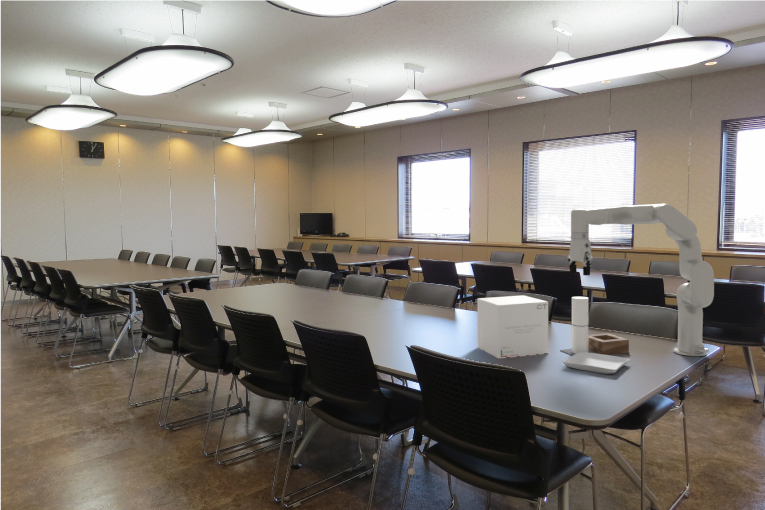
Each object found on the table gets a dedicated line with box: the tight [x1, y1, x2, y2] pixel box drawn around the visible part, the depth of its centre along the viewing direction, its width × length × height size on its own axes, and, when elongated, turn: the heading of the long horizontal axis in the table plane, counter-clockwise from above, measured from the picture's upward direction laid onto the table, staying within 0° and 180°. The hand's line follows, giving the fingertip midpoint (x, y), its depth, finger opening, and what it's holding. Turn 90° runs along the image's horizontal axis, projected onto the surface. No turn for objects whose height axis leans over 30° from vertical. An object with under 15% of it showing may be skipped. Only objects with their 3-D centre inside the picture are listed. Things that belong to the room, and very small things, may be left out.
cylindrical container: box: [571, 296, 589, 353], centre depth 238 cm, size 7×7×25 cm
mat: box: [559, 348, 598, 357], centre depth 239 cm, size 12×12×1 cm
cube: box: [476, 294, 549, 359], centre depth 246 cm, size 25×21×24 cm
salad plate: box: [562, 352, 631, 375], centre depth 217 cm, size 21×21×3 cm
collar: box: [588, 332, 630, 356], centre depth 243 cm, size 14×14×6 cm
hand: (579, 274), depth 237 cm, fingers open, 9 cm apart
